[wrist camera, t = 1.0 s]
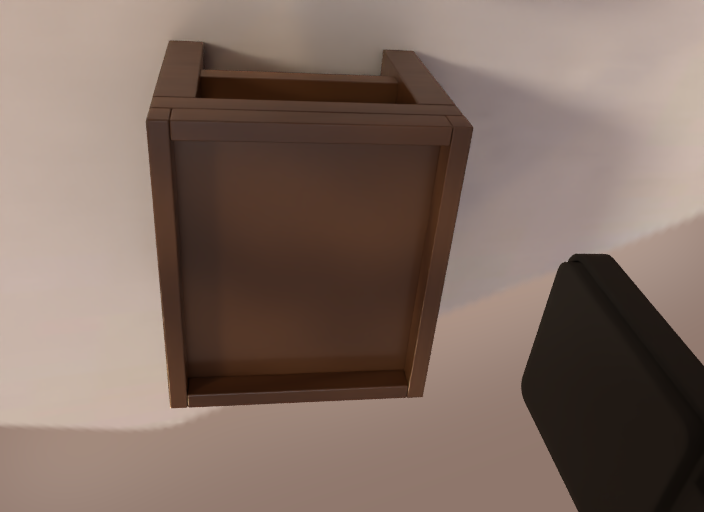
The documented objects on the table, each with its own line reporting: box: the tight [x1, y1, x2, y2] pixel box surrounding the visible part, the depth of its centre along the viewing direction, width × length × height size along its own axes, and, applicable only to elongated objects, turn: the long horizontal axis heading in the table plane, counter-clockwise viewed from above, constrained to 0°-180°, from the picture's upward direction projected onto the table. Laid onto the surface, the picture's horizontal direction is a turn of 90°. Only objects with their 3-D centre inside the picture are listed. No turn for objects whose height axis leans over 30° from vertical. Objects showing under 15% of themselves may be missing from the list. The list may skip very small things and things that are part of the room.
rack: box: [146, 41, 473, 408], centre depth 32 cm, size 14×12×10 cm
